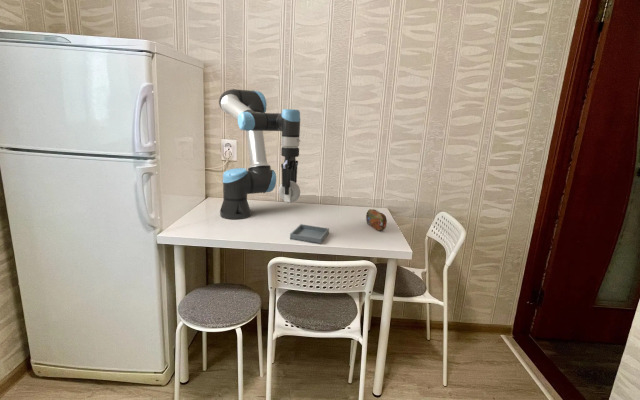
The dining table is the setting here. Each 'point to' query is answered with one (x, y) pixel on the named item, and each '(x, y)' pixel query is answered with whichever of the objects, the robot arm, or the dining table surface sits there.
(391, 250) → the dining table surface
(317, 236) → the tray
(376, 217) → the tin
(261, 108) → the robot arm
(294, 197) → the donut
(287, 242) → the dining table surface
